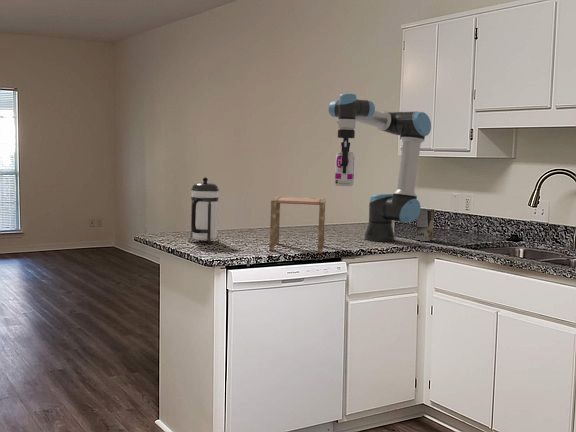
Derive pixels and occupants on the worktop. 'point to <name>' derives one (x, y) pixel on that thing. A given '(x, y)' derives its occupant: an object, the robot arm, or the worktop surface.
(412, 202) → the robot arm
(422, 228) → the coffee box
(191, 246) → the worktop surface
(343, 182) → the supplement can
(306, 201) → the trapdoor
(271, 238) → the trapdoor frame
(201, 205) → the coffee press
